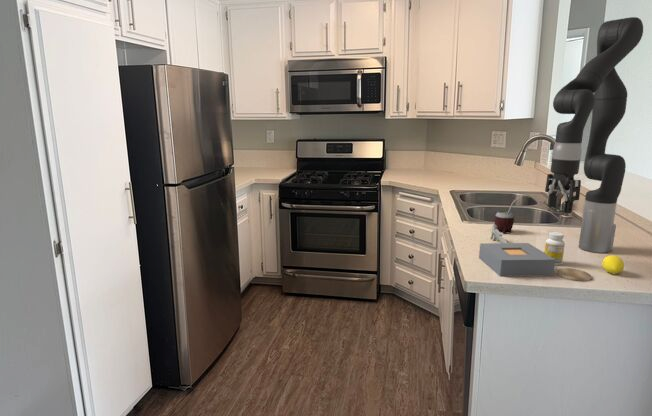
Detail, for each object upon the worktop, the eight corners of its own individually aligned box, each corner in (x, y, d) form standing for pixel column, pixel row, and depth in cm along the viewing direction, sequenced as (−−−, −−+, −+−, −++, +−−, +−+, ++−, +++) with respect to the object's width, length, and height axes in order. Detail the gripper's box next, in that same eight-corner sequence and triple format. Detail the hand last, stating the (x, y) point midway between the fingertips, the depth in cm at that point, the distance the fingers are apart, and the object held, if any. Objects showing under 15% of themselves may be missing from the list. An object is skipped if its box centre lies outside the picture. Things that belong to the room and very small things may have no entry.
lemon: (624, 279, 126) (628, 262, 124) (603, 276, 127) (606, 260, 126) (618, 268, 132) (622, 252, 130) (598, 265, 134) (601, 250, 132)
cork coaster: (578, 269, 131) (579, 267, 131) (598, 281, 123) (598, 279, 122) (550, 270, 131) (550, 268, 131) (567, 281, 122) (567, 279, 122)
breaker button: (519, 254, 136) (520, 249, 136) (528, 260, 131) (528, 255, 130) (502, 254, 136) (502, 249, 136) (510, 260, 131) (510, 255, 130)
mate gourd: (492, 229, 176) (495, 193, 173) (512, 230, 174) (516, 194, 171) (495, 234, 169) (498, 196, 165) (516, 235, 167) (520, 197, 164)
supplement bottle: (558, 266, 134) (562, 237, 132) (540, 262, 138) (544, 233, 135) (564, 262, 137) (568, 233, 135) (547, 258, 141) (550, 230, 139)
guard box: (526, 257, 142) (528, 243, 141) (553, 275, 127) (555, 259, 125) (478, 257, 142) (480, 243, 140) (499, 276, 126) (501, 260, 125)
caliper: (490, 239, 163) (491, 223, 161) (493, 239, 163) (494, 223, 161) (514, 257, 143) (516, 239, 141) (517, 257, 143) (519, 239, 141)
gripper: (593, 160, 123) (585, 215, 127) (564, 155, 137) (558, 205, 141) (567, 160, 123) (560, 215, 127) (541, 155, 137) (535, 205, 140)
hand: (559, 209), depth 134 cm, fingers open, 8 cm apart
